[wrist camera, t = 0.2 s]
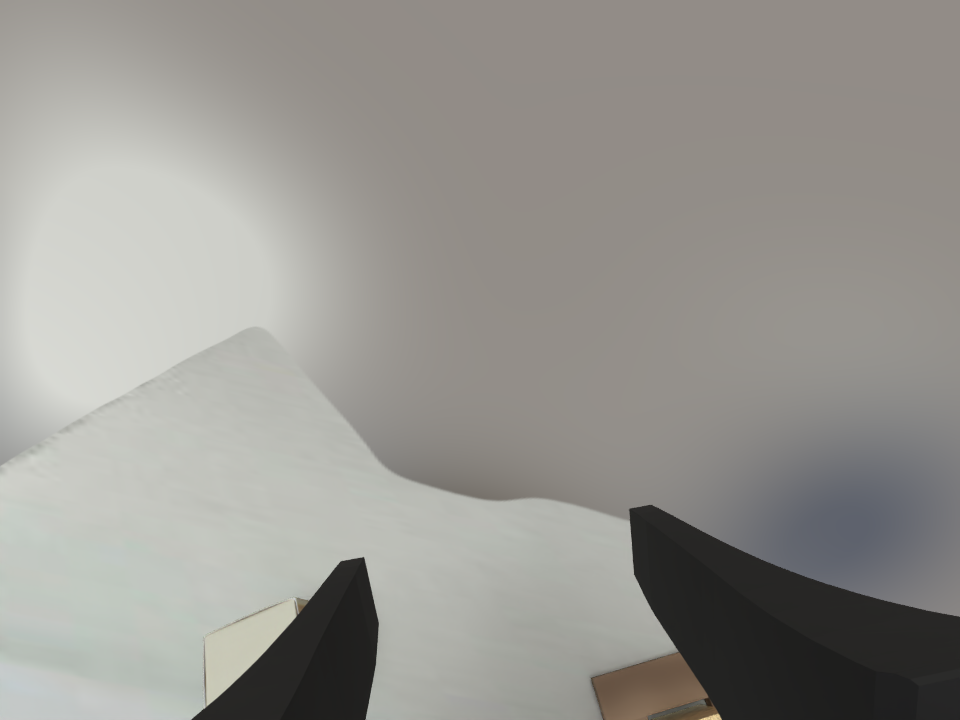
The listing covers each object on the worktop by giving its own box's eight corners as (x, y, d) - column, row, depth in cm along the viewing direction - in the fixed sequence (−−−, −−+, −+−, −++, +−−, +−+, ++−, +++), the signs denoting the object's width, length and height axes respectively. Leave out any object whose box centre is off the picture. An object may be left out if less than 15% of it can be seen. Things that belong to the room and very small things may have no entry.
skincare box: (357, 609, 39) (300, 591, 29) (368, 666, 37) (311, 667, 27) (284, 641, 38) (199, 633, 28) (290, 701, 36) (201, 716, 26)
